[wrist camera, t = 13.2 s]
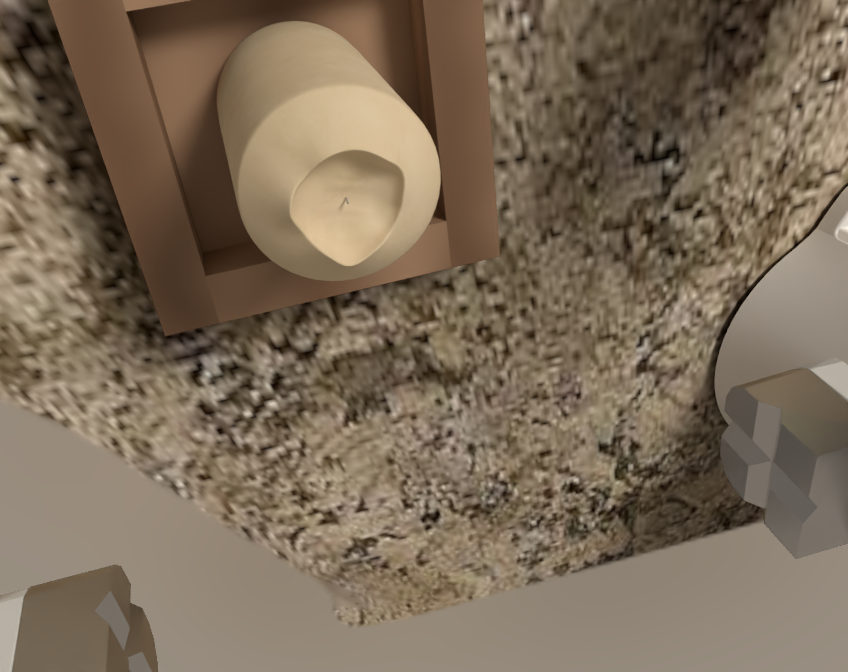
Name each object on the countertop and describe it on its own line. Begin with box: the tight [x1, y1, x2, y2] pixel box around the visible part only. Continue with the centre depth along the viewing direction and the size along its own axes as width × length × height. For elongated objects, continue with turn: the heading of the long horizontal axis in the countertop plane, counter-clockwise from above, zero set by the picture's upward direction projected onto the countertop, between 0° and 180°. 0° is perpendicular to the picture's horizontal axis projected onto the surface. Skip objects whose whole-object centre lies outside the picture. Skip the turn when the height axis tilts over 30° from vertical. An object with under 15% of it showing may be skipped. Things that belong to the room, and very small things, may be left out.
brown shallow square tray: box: [48, 0, 500, 336], centre depth 28 cm, size 13×13×3 cm
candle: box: [217, 21, 441, 281], centre depth 24 cm, size 6×6×10 cm
